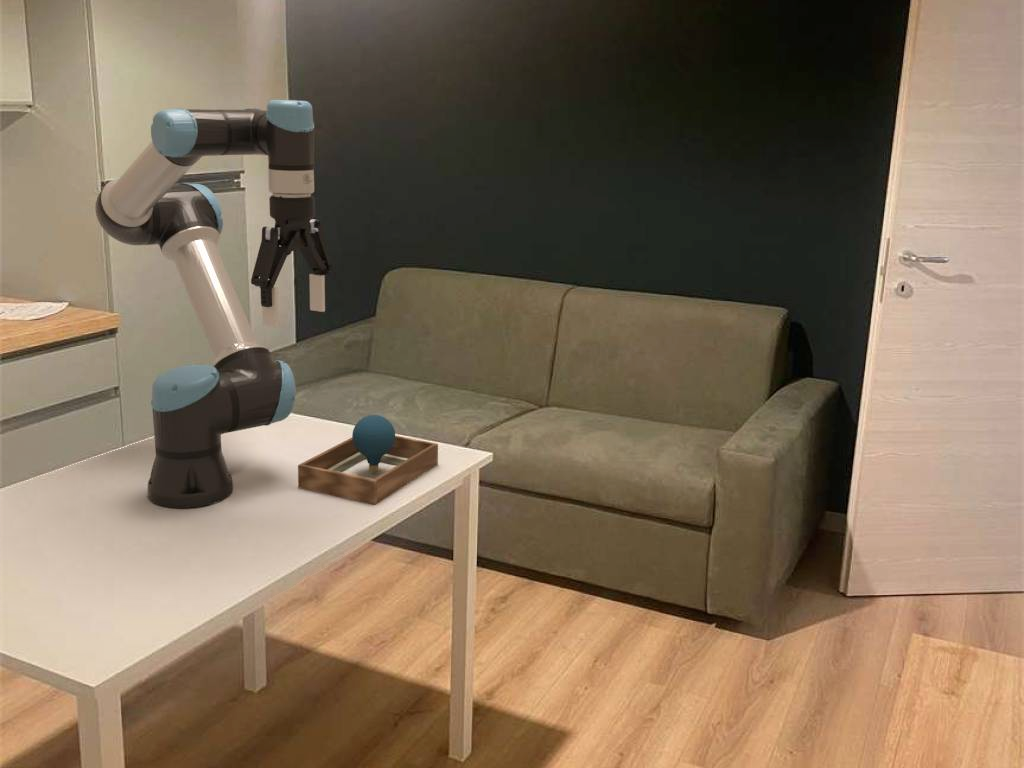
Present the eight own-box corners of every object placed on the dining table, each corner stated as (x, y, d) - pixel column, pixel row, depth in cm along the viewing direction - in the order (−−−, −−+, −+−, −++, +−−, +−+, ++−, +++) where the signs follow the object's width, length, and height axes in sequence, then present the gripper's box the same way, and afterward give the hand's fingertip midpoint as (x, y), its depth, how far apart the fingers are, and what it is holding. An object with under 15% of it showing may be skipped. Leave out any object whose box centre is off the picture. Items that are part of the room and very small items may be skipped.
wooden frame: (298, 487, 200) (297, 465, 199) (366, 450, 221) (366, 429, 220) (374, 504, 194) (374, 481, 192) (437, 464, 215) (438, 443, 213)
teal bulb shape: (392, 482, 205) (392, 423, 201) (349, 480, 205) (348, 421, 201) (397, 466, 213) (398, 410, 209) (356, 465, 213) (355, 408, 209)
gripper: (263, 203, 165) (267, 334, 171) (351, 190, 187) (352, 307, 193) (225, 199, 168) (230, 328, 174) (316, 187, 190) (318, 302, 196)
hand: (294, 317), depth 184 cm, fingers open, 13 cm apart
